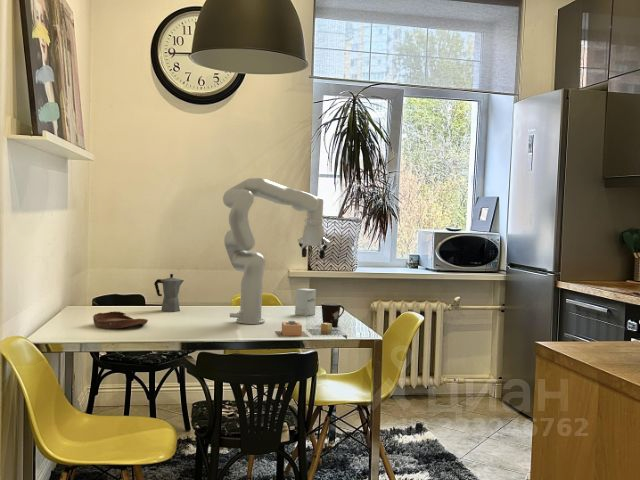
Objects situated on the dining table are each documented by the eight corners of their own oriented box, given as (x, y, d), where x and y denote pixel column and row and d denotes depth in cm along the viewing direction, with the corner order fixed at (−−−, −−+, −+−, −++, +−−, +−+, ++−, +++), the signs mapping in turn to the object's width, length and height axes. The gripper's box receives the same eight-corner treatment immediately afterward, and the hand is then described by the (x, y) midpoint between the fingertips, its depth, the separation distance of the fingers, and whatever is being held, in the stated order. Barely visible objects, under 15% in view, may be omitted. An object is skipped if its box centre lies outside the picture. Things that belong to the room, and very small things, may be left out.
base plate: (312, 338, 265) (312, 326, 264) (306, 332, 278) (306, 320, 278) (346, 338, 267) (347, 326, 267) (339, 332, 281) (339, 320, 281)
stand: (278, 340, 259) (278, 323, 259) (274, 334, 271) (275, 318, 270) (308, 340, 261) (309, 323, 261) (303, 334, 273) (304, 319, 273)
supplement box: (306, 316, 324) (307, 290, 323) (294, 314, 328) (295, 288, 328) (315, 314, 330) (316, 289, 329) (303, 313, 334) (304, 287, 334)
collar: (283, 335, 262) (284, 325, 262) (281, 332, 269) (281, 322, 269) (301, 335, 263) (301, 325, 263) (298, 332, 270) (299, 322, 270)
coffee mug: (323, 328, 291) (324, 305, 291) (318, 324, 299) (319, 302, 299) (348, 327, 294) (349, 305, 294) (342, 324, 303) (343, 302, 302)
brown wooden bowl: (157, 325, 283) (157, 314, 283) (128, 333, 264) (129, 320, 264) (113, 321, 291) (113, 309, 291) (82, 328, 272) (82, 315, 272)
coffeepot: (178, 308, 334) (179, 272, 333) (187, 311, 326) (188, 274, 326) (149, 310, 324) (150, 273, 323) (158, 313, 317) (159, 275, 316)
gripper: (295, 221, 322) (293, 256, 323) (326, 223, 314) (324, 259, 315) (302, 221, 329) (301, 256, 330) (334, 223, 321) (332, 258, 321)
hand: (312, 257), depth 322 cm, fingers open, 9 cm apart
